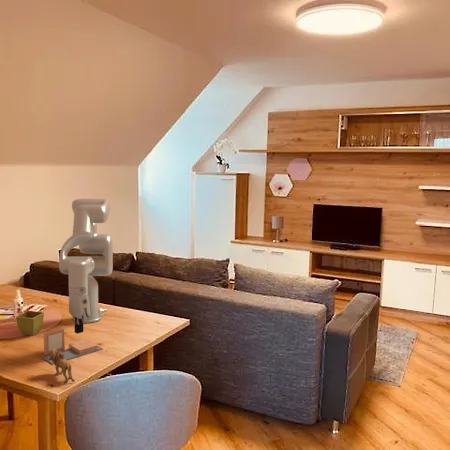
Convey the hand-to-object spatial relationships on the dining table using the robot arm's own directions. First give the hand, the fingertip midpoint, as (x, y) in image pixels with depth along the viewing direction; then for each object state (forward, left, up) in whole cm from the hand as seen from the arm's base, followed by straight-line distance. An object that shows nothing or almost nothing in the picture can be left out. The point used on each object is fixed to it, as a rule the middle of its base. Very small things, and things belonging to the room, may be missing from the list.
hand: (79, 332), depth 195 cm
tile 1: (+10, -2, -7) cm, 12 cm away
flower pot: (+8, -29, -7) cm, 31 cm away
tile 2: (0, -1, -5) cm, 5 cm away
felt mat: (+5, +4, -7) cm, 9 cm away
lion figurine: (+18, +20, -7) cm, 28 cm away
